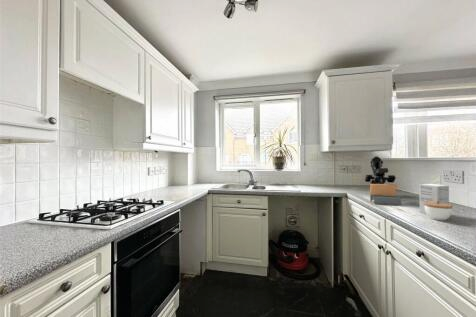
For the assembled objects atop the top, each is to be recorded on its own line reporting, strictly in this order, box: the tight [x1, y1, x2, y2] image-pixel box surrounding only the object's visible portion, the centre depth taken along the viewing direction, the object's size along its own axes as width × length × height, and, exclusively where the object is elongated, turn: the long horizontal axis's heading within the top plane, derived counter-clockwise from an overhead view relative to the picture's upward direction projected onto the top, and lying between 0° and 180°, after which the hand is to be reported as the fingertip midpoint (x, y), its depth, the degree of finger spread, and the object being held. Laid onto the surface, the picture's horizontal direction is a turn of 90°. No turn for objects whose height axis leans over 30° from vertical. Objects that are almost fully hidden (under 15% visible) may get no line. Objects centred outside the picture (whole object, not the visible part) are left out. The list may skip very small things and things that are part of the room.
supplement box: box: [418, 183, 450, 215], centre depth 117 cm, size 10×9×17 cm
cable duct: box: [369, 194, 402, 206], centre depth 145 cm, size 9×16×5 cm, turn 73°
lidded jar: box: [424, 201, 453, 221], centre depth 108 cm, size 11×11×9 cm
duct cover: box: [369, 183, 397, 197], centre depth 148 cm, size 8×16×1 cm
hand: (382, 187), depth 148 cm, fingers closed, pressing on duct cover
